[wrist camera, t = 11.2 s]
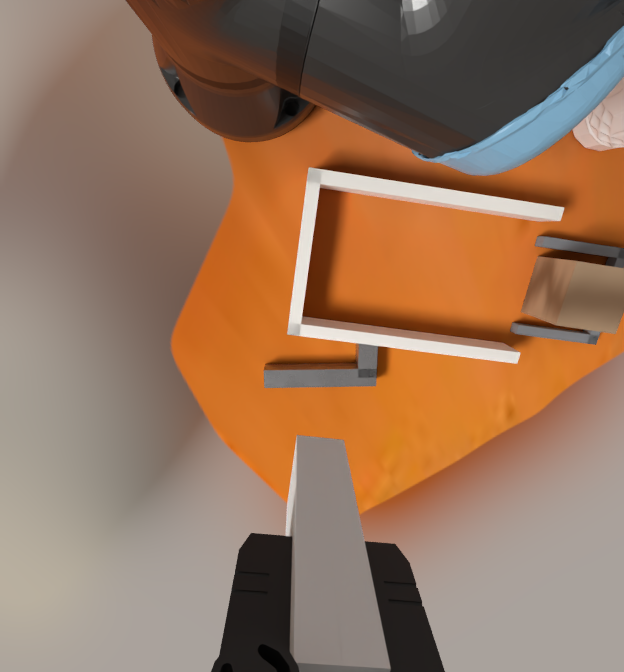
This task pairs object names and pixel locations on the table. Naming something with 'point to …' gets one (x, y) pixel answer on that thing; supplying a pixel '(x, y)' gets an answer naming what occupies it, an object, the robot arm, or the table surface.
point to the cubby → (411, 194)
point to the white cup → (604, 123)
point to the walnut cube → (576, 294)
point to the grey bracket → (614, 254)
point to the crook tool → (326, 372)
